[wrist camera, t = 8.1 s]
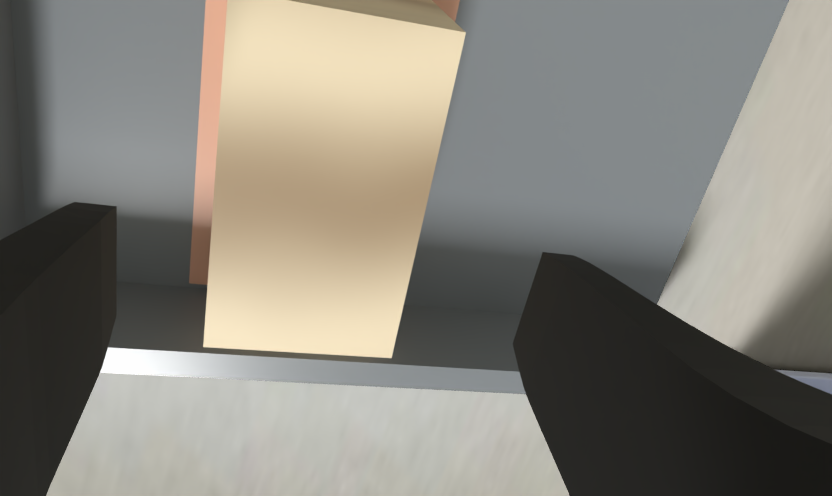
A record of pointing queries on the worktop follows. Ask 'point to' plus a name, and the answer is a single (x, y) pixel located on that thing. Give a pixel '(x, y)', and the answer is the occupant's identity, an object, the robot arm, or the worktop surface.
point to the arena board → (452, 181)
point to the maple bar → (324, 170)
